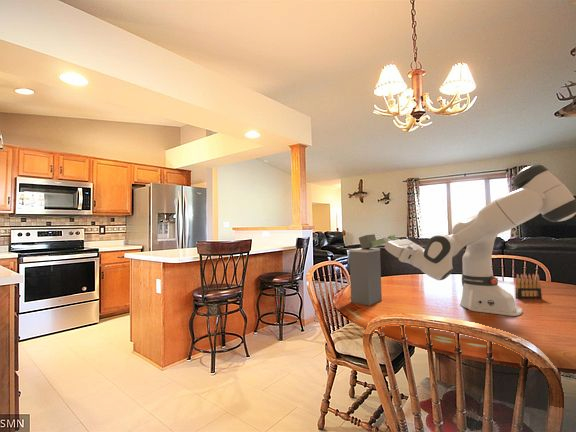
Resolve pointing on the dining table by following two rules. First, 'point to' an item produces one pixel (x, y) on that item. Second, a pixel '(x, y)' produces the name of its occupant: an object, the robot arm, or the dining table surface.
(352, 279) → the stand
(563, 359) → the dining table surface
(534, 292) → the ammunition clip
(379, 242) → the green l-shaped block
